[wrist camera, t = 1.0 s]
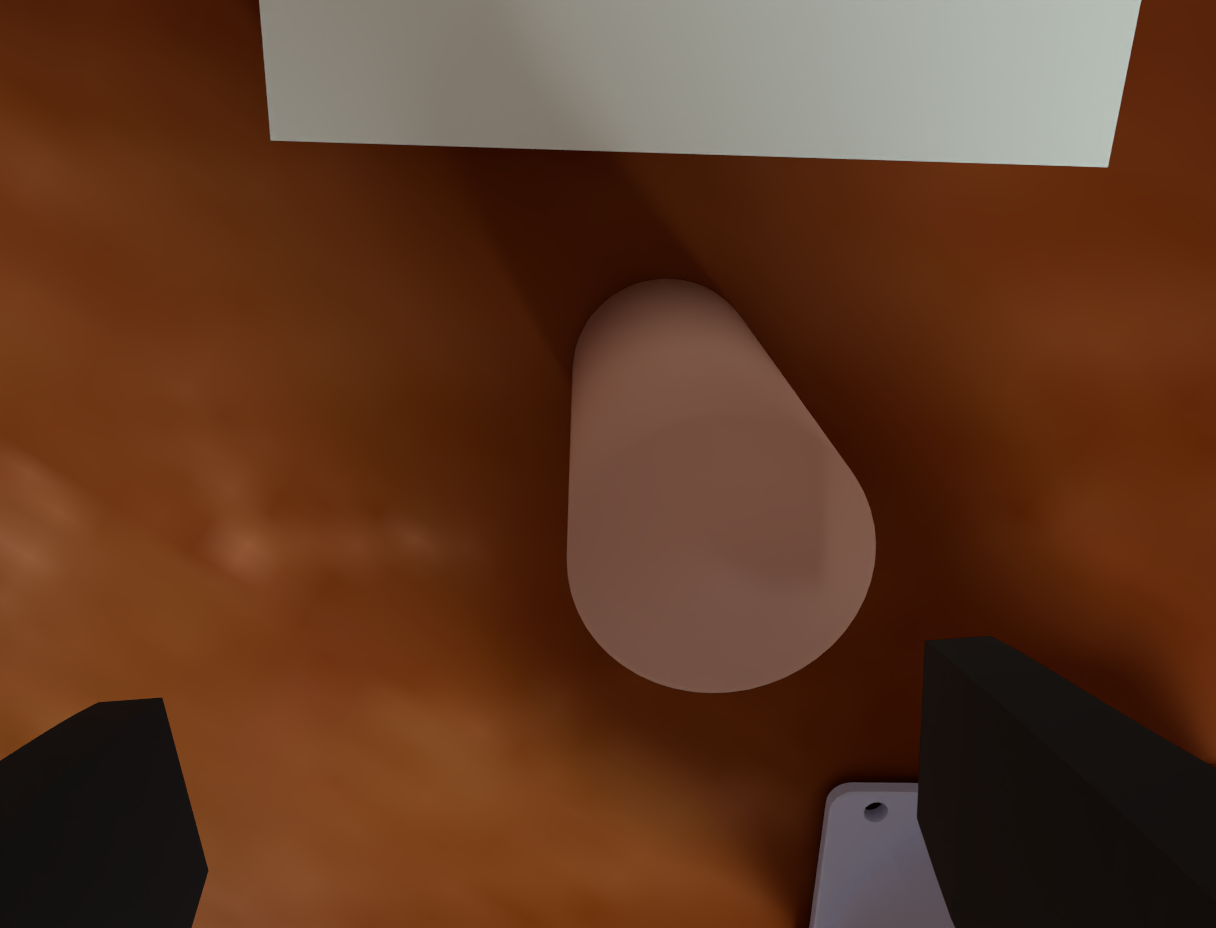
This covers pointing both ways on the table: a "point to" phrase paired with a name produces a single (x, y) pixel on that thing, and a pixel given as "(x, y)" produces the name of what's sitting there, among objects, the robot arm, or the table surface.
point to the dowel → (704, 499)
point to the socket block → (707, 76)
